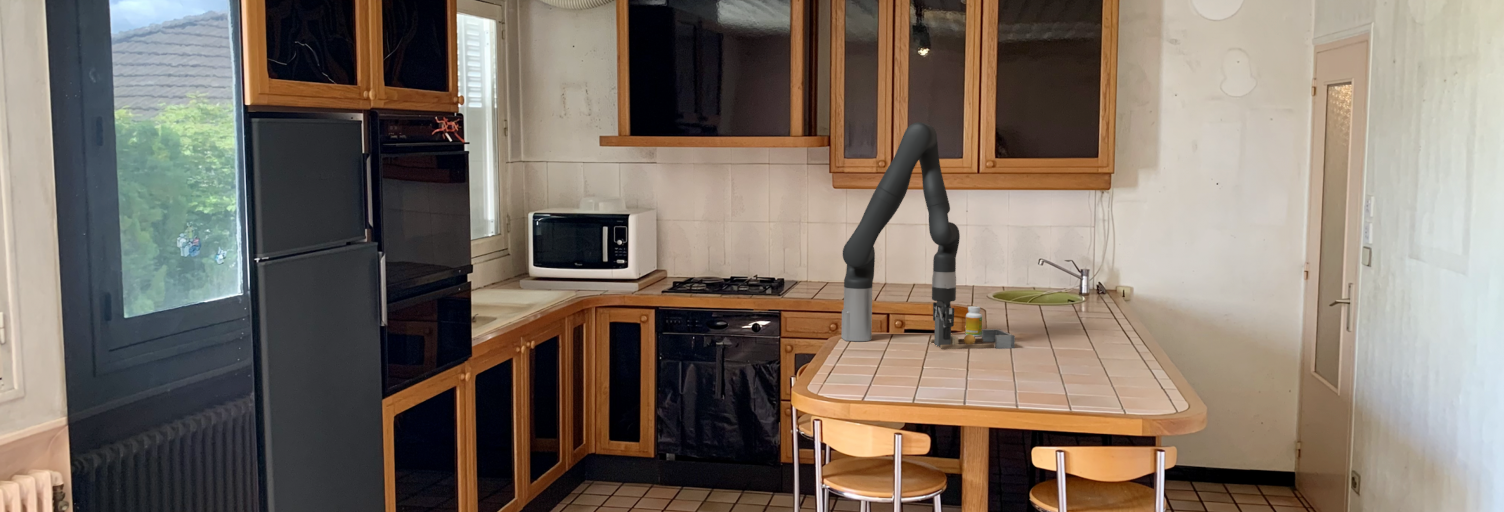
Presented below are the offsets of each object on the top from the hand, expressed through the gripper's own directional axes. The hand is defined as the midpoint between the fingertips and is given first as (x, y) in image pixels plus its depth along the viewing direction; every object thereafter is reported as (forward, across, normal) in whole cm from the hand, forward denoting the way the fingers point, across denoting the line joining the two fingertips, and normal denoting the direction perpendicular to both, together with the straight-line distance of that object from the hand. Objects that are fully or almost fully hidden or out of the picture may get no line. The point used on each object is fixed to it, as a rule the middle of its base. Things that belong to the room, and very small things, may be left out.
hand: (942, 337), depth 368 cm
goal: (+3, 0, +18) cm, 19 cm away
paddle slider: (+3, 0, 0) cm, 3 cm away
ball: (+1, 0, +9) cm, 9 cm away
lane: (+3, 0, +6) cm, 7 cm away
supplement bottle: (+3, -18, +17) cm, 25 cm away
